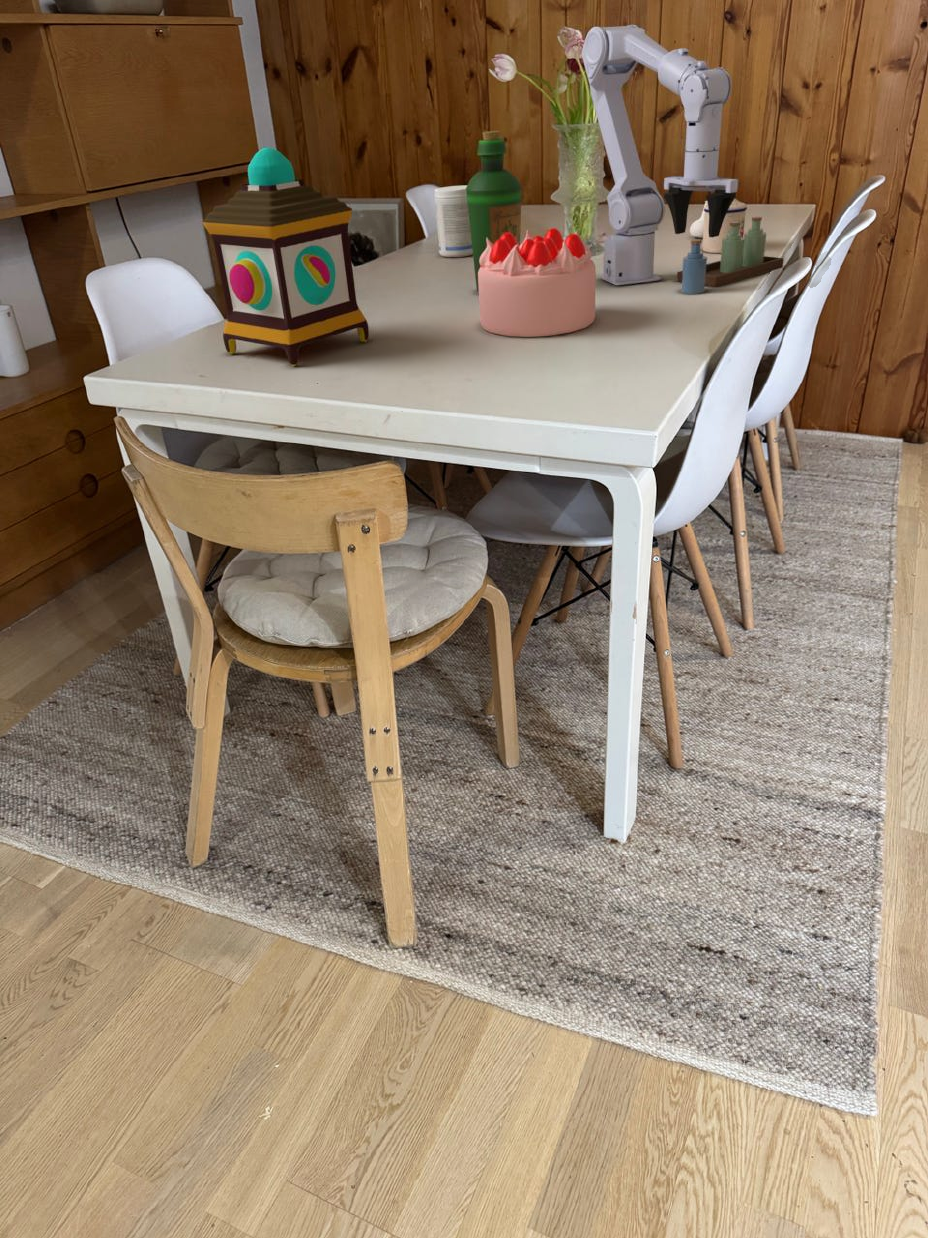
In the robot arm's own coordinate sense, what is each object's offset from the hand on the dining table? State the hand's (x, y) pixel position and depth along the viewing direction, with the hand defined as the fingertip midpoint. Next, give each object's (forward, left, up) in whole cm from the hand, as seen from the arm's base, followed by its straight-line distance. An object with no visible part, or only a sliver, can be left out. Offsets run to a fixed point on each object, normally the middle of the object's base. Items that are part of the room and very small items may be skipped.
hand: (696, 234), depth 163 cm
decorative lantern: (-74, -4, -10) cm, 75 cm away
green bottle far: (+19, +13, -9) cm, 25 cm away
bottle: (-32, +21, -10) cm, 39 cm away
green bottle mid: (+13, +10, -9) cm, 19 cm away
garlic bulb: (+28, +52, -10) cm, 60 cm away
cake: (-33, -8, -10) cm, 36 cm away
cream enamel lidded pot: (+25, +36, -10) cm, 45 cm away
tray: (+13, +10, -10) cm, 19 cm away
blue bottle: (0, 0, -10) cm, 10 cm away
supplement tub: (-29, +66, -10) cm, 72 cm away
